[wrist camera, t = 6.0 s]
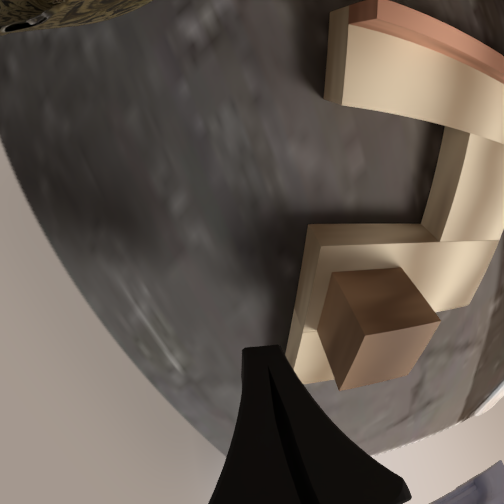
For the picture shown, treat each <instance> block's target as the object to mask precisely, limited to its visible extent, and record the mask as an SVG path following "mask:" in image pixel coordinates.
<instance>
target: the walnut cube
mask: <svg viewBox="0 0 504 504" xmlns="http://www.w3.org/2000/svg"><path fill="white" fill-rule="evenodd" d="M440 322H441V320H440V319H439V317H438V316H437V315H436V313H435V312H434V310H433V309H432V308H431V306H430V305H429V303H428V302H427V301H426V299H425V298H424V297H423V295H422V294H421V293H420V291H419V290H418V289H417V287H416V286H415V285H414V283H413V282H412V281H411V279H410V278H409V277H408V276H407V274H406V273H405V272H404V270H403V269H402V268H401V267H398V268H384V269H370V270H355V271H340V272H332V274H331V278H330V282H329V286H328V290H327V294H326V298H325V301H324V305H323V309H322V313H321V316H320V320H319V324H318V327H317V333H318V335H319V338H320V341H321V343H322V346H323V349H324V351H325V354H326V357H327V359H328V362H329V365H330V368H331V370H332V373H333V376H334V378H335V381H336V384H337V387H338V389H339V391H341V390H346V389H351V388H356V387H361V386H365V385H370V384H374V383H378V382H382V381H386V380H390V379H394V378H398V377H402V376H405V375H408V374H409V372H410V371H411V369H412V368H413V366H414V365H415V363H416V362H417V360H418V358H419V357H420V355H421V354H422V352H423V351H424V349H425V347H426V346H427V344H428V342H429V341H430V339H431V337H432V336H433V334H434V332H435V331H436V329H437V327H438V325H439V324H440Z"/></svg>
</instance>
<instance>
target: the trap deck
mask: <svg viewBox="0 0 504 504" xmlns="http://www.w3.org/2000/svg"><path fill="white" fill-rule="evenodd" d="M323 99H325V100H328V101H331V102H334V103H337V104H340V105H343V106H351V107H357V108H364V109H370V110H376V111H381V112H387V113H392V114H397V115H402V116H406V117H411V118H415V119H420V120H424V121H428V122H432V123H436V124H440V125H444V126H445V128H444V133H443V138H442V143H441V148H440V153H439V157H438V162H437V166H436V170H435V174H434V178H433V182H432V186H431V190H430V194H429V197H428V201H427V204H426V208H425V211H424V215H423V218H422V221H421V224H308V228H307V234H306V241H305V247H304V254H303V260H302V266H301V272H300V278H299V284H298V289H297V295H296V301H295V306H294V312H293V317H292V322H291V328H290V333H289V338H288V343H287V348H286V353H285V356H286V358H287V360H288V361H289V363H290V365H291V366H292V368H293V370H294V371H295V373H296V375H297V376H298V378H299V379H300V381H301V382H302V384H308V383H315V382H321V381H327V380H333V379H335V378H334V376H333V373H332V370H331V368H330V365H329V362H328V359H327V357H326V354H325V351H324V349H323V346H322V343H321V341H320V338H319V335H318V333H317V327H318V324H319V320H320V316H321V313H322V309H323V305H324V301H325V298H326V294H327V290H328V286H329V282H330V278H331V274H332V272H340V271H355V270H370V269H384V268H398V267H401V268H402V269H403V270H404V272H405V273H406V274H407V276H408V277H409V278H410V279H411V281H412V282H413V283H414V285H415V286H416V287H417V289H418V290H419V291H420V293H421V294H422V295H423V297H424V298H425V299H426V301H427V302H428V303H429V305H430V306H431V308H432V309H433V310H434V312H439V311H444V310H449V309H453V308H458V307H462V306H467V305H469V303H470V301H471V299H472V298H473V296H474V294H475V292H476V290H477V288H478V286H479V284H480V282H481V280H482V278H483V276H484V274H485V272H486V270H487V268H488V265H489V263H490V261H491V259H492V256H493V254H494V252H495V250H496V247H497V245H498V242H499V239H500V237H501V234H502V232H503V229H504V56H503V55H501V54H500V53H498V52H496V51H495V50H493V49H492V48H490V47H488V46H487V45H485V44H483V43H482V42H480V41H478V40H476V39H475V38H473V37H471V36H469V35H467V34H465V33H464V32H462V31H460V30H458V29H456V28H454V27H452V26H450V25H448V24H446V23H444V22H441V21H439V20H437V19H435V18H433V17H430V16H428V15H426V14H424V13H421V12H419V11H416V10H414V9H411V8H409V7H406V6H403V5H401V4H398V3H395V2H392V1H390V0H365V1H361V2H358V3H355V4H352V5H349V6H346V7H343V8H340V9H337V10H334V11H331V12H330V18H329V35H328V50H327V63H326V76H325V87H324V98H323Z"/></svg>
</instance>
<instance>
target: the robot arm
mask: <svg viewBox="0 0 504 504" xmlns="http://www.w3.org/2000/svg"><path fill="white" fill-rule="evenodd" d="M241 378H242V395H241V402H240V407H239V412H238V417H237V422H236V426H235V430H234V434H233V438H232V441H231V445H230V448H229V451H228V454H227V458H226V461H225V464H224V467H223V469H222V472H221V475H220V477H219V480H218V482H217V485H216V488H215V490H214V492H213V494H212V497H211V499H210V501H209V503H208V504H403V503H405V502H407V501H409V500H410V499H411V498H412V496H411V494H410V491H409V489H408V487H407V485H406V483H405V481H404V480H403V478H402V477H400V476H398V475H397V474H395V473H393V472H392V471H390V470H389V469H387V468H386V467H384V466H383V465H381V464H380V463H378V462H377V461H376V460H375V459H373V458H372V457H370V456H369V455H368V454H367V453H366V452H364V451H363V450H362V449H361V448H360V447H358V446H357V445H356V444H355V443H354V442H353V441H351V440H350V439H349V438H348V437H347V436H346V435H345V434H344V433H343V432H342V431H341V430H340V429H339V428H338V427H337V426H336V425H335V424H334V423H333V422H332V421H331V419H330V418H329V417H328V416H327V415H326V414H325V413H324V411H323V410H322V409H321V408H320V406H319V405H318V404H317V403H316V401H315V400H314V399H313V398H312V396H311V395H310V393H309V392H308V391H307V389H306V388H305V386H304V385H303V384H302V382H301V381H300V379H299V378H298V376H297V375H296V373H295V371H294V370H293V368H292V366H291V365H290V363H289V361H288V360H287V358H286V356H285V354H284V352H283V350H282V348H281V346H279V345H270V346H259V347H247V348H244V349H243V350H242V373H241ZM429 504H504V465H503V463H502V461H501V460H500V461H498V462H497V463H495V464H494V465H493V466H491V467H489V468H488V469H487V470H485V471H484V472H482V473H480V474H478V475H476V476H475V477H473V478H471V479H470V480H468V481H467V482H465V483H464V484H462V485H460V486H458V487H457V488H456V489H455V490H453V491H452V492H450V493H448V494H446V495H444V496H443V497H441V498H439V499H437V500H435V501H433V502H431V503H429Z"/></svg>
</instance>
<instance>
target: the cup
mask: <svg viewBox="0 0 504 504" xmlns="http://www.w3.org/2000/svg"><path fill="white" fill-rule="evenodd" d="M151 1H153V0H0V36H2V35H6V34H9V33H14V32H22V31H31V30H40V29H51V28H61V27H71V26H80V25H85V24H91V23H97V22H101V21H105V20H109V19H111V18H114V17H118V16H121V15H123V14H126V13H128V12H131V11H133V10H136V9H138V8H140V7H142V6H144V5H146V4H147V3H149V2H151Z"/></svg>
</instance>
